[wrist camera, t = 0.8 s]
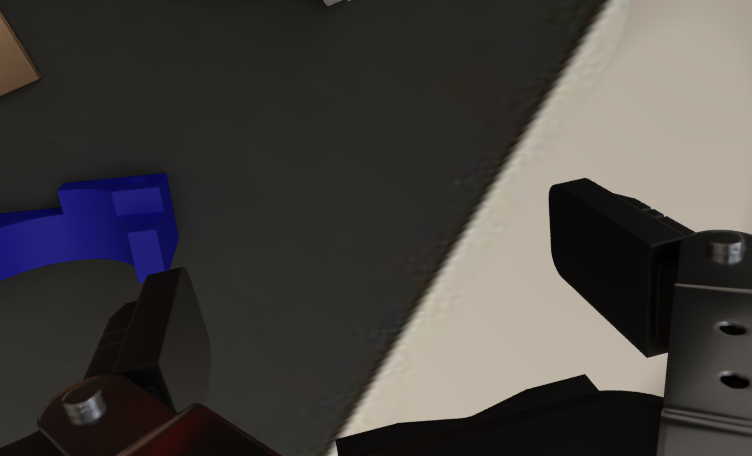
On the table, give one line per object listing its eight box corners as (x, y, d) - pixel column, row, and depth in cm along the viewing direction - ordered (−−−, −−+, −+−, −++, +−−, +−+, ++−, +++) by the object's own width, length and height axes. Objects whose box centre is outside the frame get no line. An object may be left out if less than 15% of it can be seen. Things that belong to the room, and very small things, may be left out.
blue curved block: (166, 172, 38) (150, 203, 32) (178, 239, 40) (166, 279, 34) (-42, 193, 36) (-96, 230, 31) (-20, 262, 38) (-67, 308, 32)
